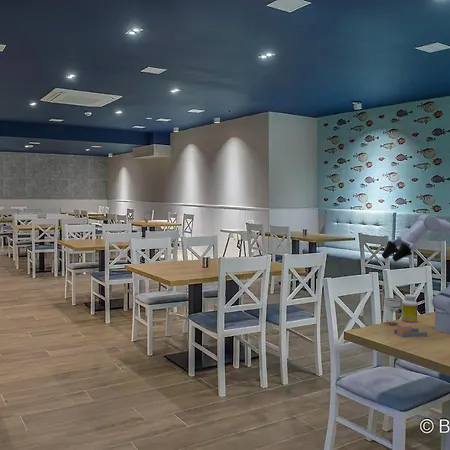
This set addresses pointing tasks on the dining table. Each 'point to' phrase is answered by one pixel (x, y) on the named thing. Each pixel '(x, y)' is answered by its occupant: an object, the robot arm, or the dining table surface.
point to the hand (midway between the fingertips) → (388, 258)
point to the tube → (416, 334)
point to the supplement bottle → (409, 309)
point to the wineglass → (392, 305)
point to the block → (403, 328)
